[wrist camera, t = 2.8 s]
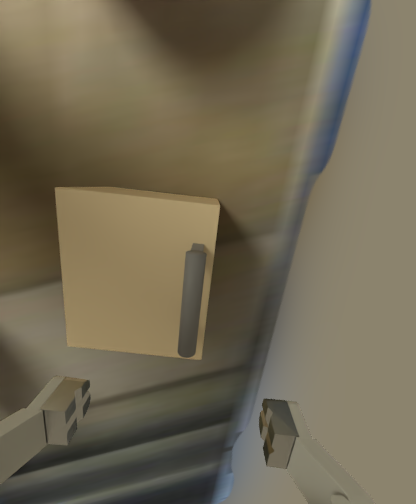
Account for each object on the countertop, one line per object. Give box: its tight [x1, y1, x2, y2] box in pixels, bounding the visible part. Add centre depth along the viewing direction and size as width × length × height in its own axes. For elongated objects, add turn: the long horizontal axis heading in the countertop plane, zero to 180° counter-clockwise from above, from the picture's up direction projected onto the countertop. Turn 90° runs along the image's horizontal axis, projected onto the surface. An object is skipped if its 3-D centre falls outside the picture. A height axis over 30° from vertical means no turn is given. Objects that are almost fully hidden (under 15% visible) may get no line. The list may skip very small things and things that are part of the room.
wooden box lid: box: [55, 187, 220, 360], centre depth 20 cm, size 16×14×5 cm
